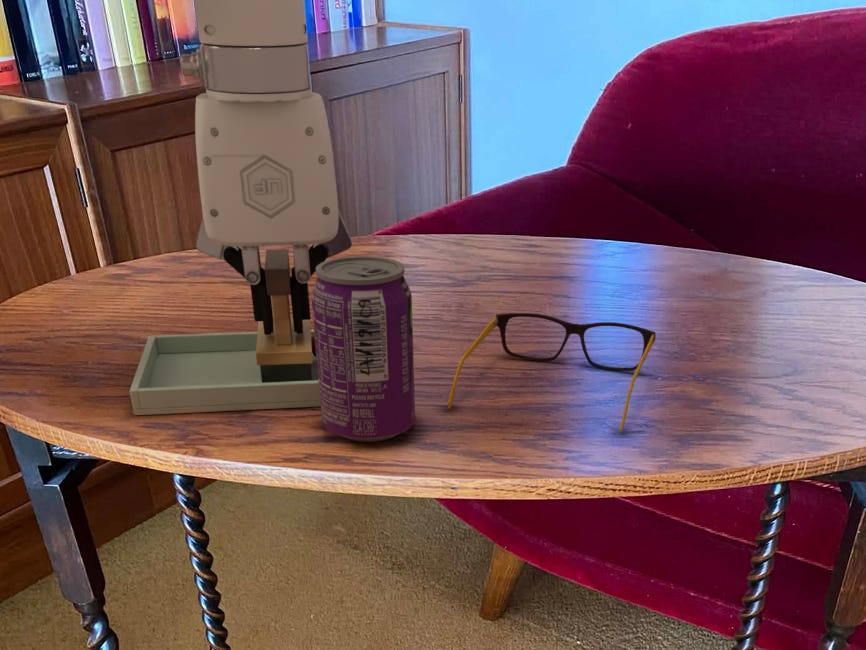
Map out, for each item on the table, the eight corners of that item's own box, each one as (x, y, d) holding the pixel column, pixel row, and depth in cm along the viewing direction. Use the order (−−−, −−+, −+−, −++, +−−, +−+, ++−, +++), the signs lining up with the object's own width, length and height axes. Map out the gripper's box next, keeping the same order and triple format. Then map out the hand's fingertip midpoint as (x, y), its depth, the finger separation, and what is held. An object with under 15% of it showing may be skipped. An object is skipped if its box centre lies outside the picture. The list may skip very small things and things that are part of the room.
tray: (134, 415, 75) (129, 391, 74) (153, 357, 86) (148, 335, 85) (366, 404, 78) (365, 380, 77) (357, 349, 88) (355, 327, 87)
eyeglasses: (652, 371, 85) (658, 326, 83) (622, 435, 74) (627, 384, 71) (498, 352, 88) (499, 308, 86) (446, 410, 77) (446, 361, 75)
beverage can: (433, 423, 75) (430, 263, 68) (380, 456, 70) (371, 287, 63) (359, 404, 78) (349, 249, 71) (303, 434, 73) (287, 271, 66)
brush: (259, 389, 78) (246, 274, 73) (262, 351, 85) (250, 245, 80) (314, 387, 79) (305, 273, 73) (312, 350, 86) (304, 244, 80)
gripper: (136, 79, 65) (182, 348, 76) (371, 79, 67) (382, 340, 78) (149, 67, 71) (190, 318, 82) (364, 68, 73) (376, 312, 84)
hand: (283, 327), depth 80 cm, fingers closed on brush
